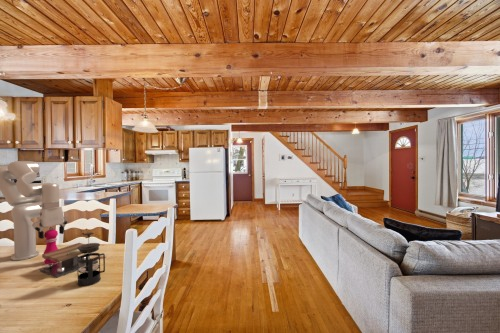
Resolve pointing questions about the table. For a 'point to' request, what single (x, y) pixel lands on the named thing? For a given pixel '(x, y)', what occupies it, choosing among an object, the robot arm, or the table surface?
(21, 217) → the robot arm
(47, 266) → the board stand
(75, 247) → the board
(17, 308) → the table surface
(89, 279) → the french press
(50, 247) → the pepper mill
